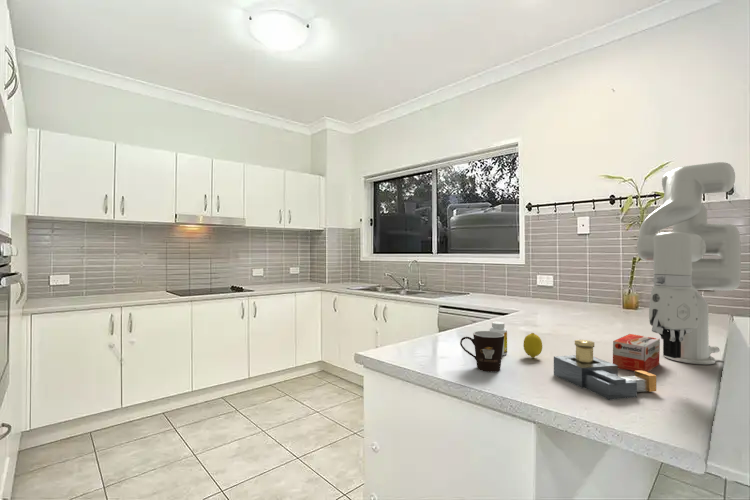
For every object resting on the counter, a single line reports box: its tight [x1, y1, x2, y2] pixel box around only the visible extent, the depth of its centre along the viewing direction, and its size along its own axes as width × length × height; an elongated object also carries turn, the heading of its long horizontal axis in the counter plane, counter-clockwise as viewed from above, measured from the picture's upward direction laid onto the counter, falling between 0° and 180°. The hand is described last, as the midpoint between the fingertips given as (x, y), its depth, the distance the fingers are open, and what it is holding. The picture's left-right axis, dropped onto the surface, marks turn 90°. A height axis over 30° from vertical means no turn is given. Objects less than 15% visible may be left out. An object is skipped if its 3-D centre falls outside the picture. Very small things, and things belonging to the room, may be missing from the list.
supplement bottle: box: [489, 321, 508, 356], centre depth 126 cm, size 6×6×10 cm
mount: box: [553, 354, 638, 401], centre depth 97 cm, size 10×18×5 cm, turn 12°
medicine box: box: [612, 333, 661, 373], centre depth 113 cm, size 15×8×8 cm, turn 130°
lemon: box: [523, 332, 543, 359], centre depth 121 cm, size 6×6×8 cm
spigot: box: [574, 339, 595, 364], centre depth 101 cm, size 5×5×10 cm
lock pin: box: [620, 370, 657, 393], centre depth 92 cm, size 8×4×4 cm, turn 102°
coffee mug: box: [459, 330, 504, 373], centre depth 111 cm, size 12×9×10 cm
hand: (671, 356), depth 94 cm, fingers closed
